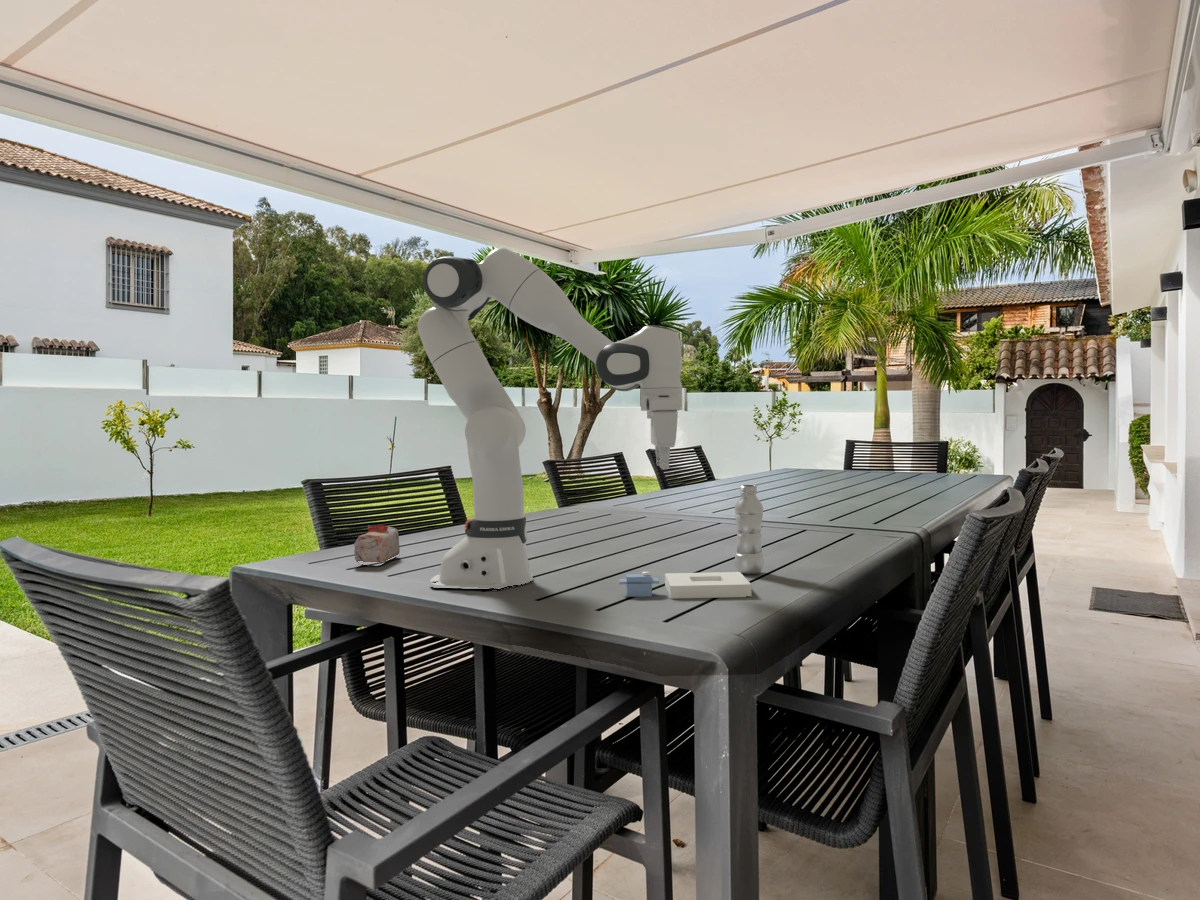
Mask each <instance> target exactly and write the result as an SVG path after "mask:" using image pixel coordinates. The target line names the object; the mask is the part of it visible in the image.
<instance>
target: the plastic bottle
mask: <svg viewBox="0 0 1200 900" xmlns="http://www.w3.org/2000/svg"><path fill="white" fill-rule="evenodd" d="M739 487H740V488H739V489H740V491H739V494H740V497H739V498H738V500H737V502H736V503H735V506H734V517H735V518H734V519H735V523H736V533H737V534H736V540H737V541H736V552H735V555H734V556H735V557H734V567H735V569H736V572H740V573H741V574H746V575H752V574H753V575H754V574H758V573H761V572H762V571H763V569H764V564H765V561H764V554H763V549H762V523H763V514H764V506H763V504H762V502H761V501H760V499H759V498H758V497H757V494H758V491H757V484H742V485H740V486H739Z"/></svg>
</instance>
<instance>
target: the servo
mask: <svg viewBox="0 0 1200 900" xmlns="http://www.w3.org/2000/svg"><path fill="white" fill-rule="evenodd" d="M625 576H626V577H625V578H618V584H619V585H625V587H626V588H625V589H626V590H625V591H626V592H625V593H626V598H628V597H629V598H631V597H634V598H635V597H652V596H653V592H652V591H653V586H652V585H654V584H657V585H658V584H660V580H659V577H652V575H651V572H650V571H642V572H641V573H626V574H625Z"/></svg>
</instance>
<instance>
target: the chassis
mask: <svg viewBox="0 0 1200 900" xmlns="http://www.w3.org/2000/svg"><path fill="white" fill-rule="evenodd" d="M664 586H665V589H666V590H667V593H668V596H669V598H670V599H711V598H712V599H713V598H716V599H717V598H718V599H719V598H747V597H746V596H751V597H752V583H751V582H750V581H749V580H748V579H747V578H746V577H745V575H743V573H741V572H738V571H722V572H721V571H720V572H719V571H718V572H717V571H715V572H677V573H676V572H673V573H672V572H671V573H670V572H669V573H668V572H666V573H664Z"/></svg>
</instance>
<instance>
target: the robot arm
mask: <svg viewBox="0 0 1200 900" xmlns="http://www.w3.org/2000/svg"><path fill="white" fill-rule="evenodd" d="M422 285H423V289H424V292H425V293H426V295H427V297H428V298H429V299H430V300H431V301H432V302H433V303H434V304H433V305H432V306H431V307H430V308H428V309H427V310H425V311H424V312H423V313H422V314H421V316H420V317H419V319H418V321H417V325H416V327H417V331H418V334H419V338H420V340H421V343H422V345H423V348H424V351H425V353H426V356H427V357H428V359H429V362H430V363H431V365H432V367H433V369H434V371H435V372H436V374H437V377H438V378H439V380H440V382H441V384H442V386H443V387H444V389H445V391H446V394H447V395H448V397H449V398H450V399H451V401H453V403H454V404H455V406H457V408H458V409H459V411H460V413H462V415H463V416H464V419H466V425H465V428H464V434H465V435H464V436H465V440H466V446H467V454H468V461H469V467H470V474H471V478H472V480H471V481H472V493H473V494H472V495H473V496H472V498H473V518H472V517H471V518H470V517H469V518H468V519H467V520H466V521H465V523H464V532H465V533H464V534H465V535H466V536H465V537H463V538H462V539H461V540H459V541H458V542H457V543H456V544H454V546H453V547H451V548H450V549H449V550H448V551H447V552H445V554H444V555H443V557H442V559H441V563H440V569H439V574H440V575H439V574H438V573H437V574H436V575H434V576H433V577H431V578H430V580H429V584H430V583H431V582H433V581H438V582H436V583H431V584H433V585H445V586H460V587H478V588H494V589H495V588H503V587H507V586H512V587H514V586H513V585H518V586H522V585H525V583H526V584H529V583H531V582H532V581H533V580H534V577H533V574H532V571H531V568H530V564H529V559H528V558H529V557H528V553H527V541H528V540H527V539H528V522H527V518H526V516H525V508H524V507H525V504H524V502H525V501H524V499H525V498H524V479H523V476H522V475H523V474H522V469H521V459H520V458H521V457H520V451H519V450H520V449H519V447H520V446H521V445H522V444H523V443H524V441H525V438H526V429H527V428H526V423H525V421H524V419H523V418H522V415H521V414H520V412H519V411H518V409H517V408H516V406H515V404H514V402H513V401H512V399H511V397H510V396H509V395H508V392H507V391H506V389H505V388H504V387H503V385H502V383H501V381H500V380H499V379H498V377H497V376H496V374H495V372H494V370H493V368H492V367H491V365H490V363H489V361H488V360H487V358H486V356H485V354H484V352H483V351H482V349H481V347H480V345H479V343H478V341H477V339H476V337H475V336H474V334H473V333H472V330H471V329H470V325H469V321H471V320H473V319H474V318H475V317H476V316H477V315H478V313H479V312H480V311H482V309H484V308H485V307H486V305H487V304H488V303H489V302H490V300H491V299H494V300H495V301H497V302H499V303H500V304H501V305H502V306H504V307H505V308H506V309H508V310H509V311H510V312H511V313H512V314H513V315H514V316H516V317H518V318H519V319H521V320H523V322H526V323H528V324H529V325H532V326H533V327H535V328H536V329H537V328H538V329H540V330H542V331H544V332H547V333H549V334H552V335H554V336H557V337H559V338H560V339H563V340H564V341H565V342H567V343H569V344H570V345H571V346H573V347H574V348H575V349H576V350H578V351H579V352H580V353H581V354H582V355H584V356H585V357H586V358H587V359H589V360H590V361H591V362H592V363H594V365H595V369H596V373H597V375H598V377H599V378H600V379H601V380H602V381H603V382H604V384H606V385H608V386H609V387H610V388H612V389H614V390H616V391H618V392H630V391H633V390H635V389H637V388H638V387H639V386H640V411H642V412H646V419H647V420H650V443H651V445H653V446H654V447H655V448H654V449H655V450H654V452H655V459H656V466H658V467H659V468H660V469H661V470H668V469H669V468H670V457H671V448H674V447H675V445H676V441H677V431H678V429H677V428H678V417H679V415H678V413H679V412H678V411H683V385H682V384H683V383H682V381H681V372H682V369H683V363H682V362H683V359H682V356H683V355H682V346H681V340H680V337H679V334H678V333H677V332H676V331H675V330H674V329H672V328H670V327H668V326H667V327H666V326H663V325H662V326H661V325H655V324H654V325H653V324H652V325H646V326H642V328H640V330H638V331H637V332H635V333H634V334H632V335H631V336H628V337H626V338H624V339H621V340H617V341H615V342H614V341H613V340H611V339H610V338H608V337H607V336H606V335H605V334H603V333H602V332H601V331H600V330H598V329H597V328H596V327H595V326H594V325H592V324H591V323H589V322H588V321H587V320H586V318H584V316H582V315H581V314H580V313H579V311H578V310H577V308H575V306H574V305H573V304H572V302H571V300H570V299H569V297H568V296H567V295H566V293H565V292H564V291H563V289H562V288H561V287H560V286H559V285H558V283H556V281H554V280H553V279H552V278H551V276H549V275H548V274H547V273H546V272H544V270H542V269H541V268H540V267H539V266H537V265H535V264H534V263H533V262H531V261H530V260H528V259H527V258H525V257H523V255H520V254H518V253H517V252H515V251H513V250H510V249H508V248H505V247H499V248H495V249H493V250H491V251H490V252H489V253H488V254H487V255H486V256H485V257H484V258H483V260H482V261H481V262H479V263H478V262H476V260H474V259H472V258H465V257H459V256H442V257H438V258H436V259H434V260H433V261H431V262H430V263H429V264H428V265H427V267H426V268H425V270H424V273H423V277H422ZM530 581H531V582H530ZM521 584H522V585H521ZM507 588H508V587H507Z"/></svg>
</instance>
